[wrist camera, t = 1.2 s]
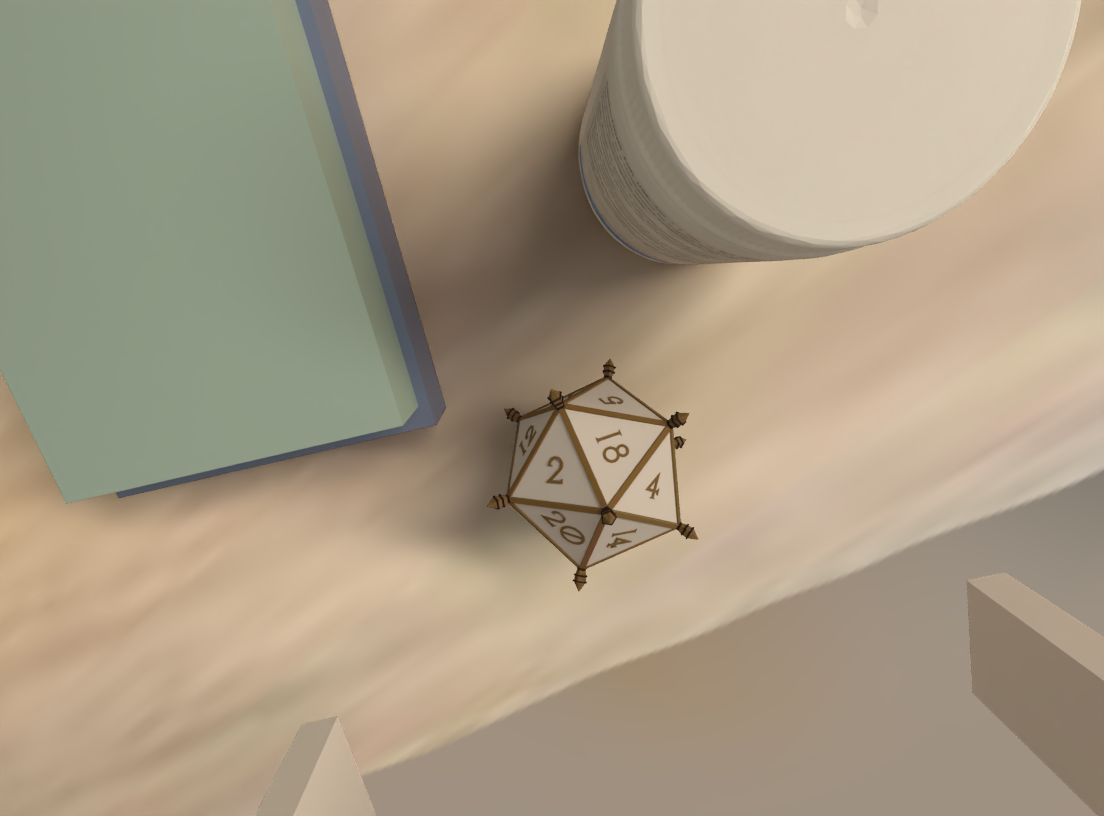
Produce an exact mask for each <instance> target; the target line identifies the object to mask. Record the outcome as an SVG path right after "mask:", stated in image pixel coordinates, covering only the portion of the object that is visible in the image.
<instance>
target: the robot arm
mask: <svg viewBox="0 0 1104 816" xmlns="http://www.w3.org/2000/svg"><path fill="white" fill-rule="evenodd" d="M967 597H968V616H969V635H970V654H971V673H972V692H973V694H974V695H975V696H976V697H977V698H978V699H979V700H980V701H981V702H982V703H983V704H984V705H985V706H986V707H987V708H988V709H989V710H990V711H991V712H992V713H993V714H995V715H996V716H997V717H998V718H999V719H1000V720H1001V721H1002V722H1003V723H1004V724H1005V725H1006V726H1007V727H1008V728H1009V729H1010V730H1011V731H1012V732H1013V733H1014V734H1015V735H1016V736H1017V737H1018V738H1019V739H1020V740H1021V741H1022V742H1023V743H1024V744H1025V745H1026V746H1027V747H1028V748H1029V749H1030V750H1031V751H1032V752H1033V753H1034V754H1035V755H1036V756H1037V757H1038V758H1039V759H1040V760H1042V761H1043V762H1044V763H1045V765H1047V766H1048V767H1049V768H1050V769H1051V770H1052V771H1053V772H1054V773H1055V774H1056V775H1057V776H1058V777H1059V778H1060V779H1061V780H1062V781H1063V782H1064V783H1065V784H1066V785H1067V786H1068V787H1069V788H1070V789H1071V790H1072V791H1073V792H1074V793H1075V794H1076V795H1077V796H1078V797H1079V798H1080V799H1081V800H1082V801H1083V802H1084V803H1085V804H1086V805H1087V806H1088V807H1090V808H1091V810H1092V811H1093V812H1094V813H1096V814H1097V815H1098V816H1104V637H1103V636H1101V635H1100V634H1098V633H1097V632H1095V631H1094V630H1092V629H1091V628H1089V627H1088V626H1086V625H1085V624H1083V623H1082V622H1080V621H1079V620H1077V619H1075V618H1074V617H1072V616H1071V615H1069V614H1068V613H1066V612H1065V611H1063V610H1062V609H1060V608H1059V607H1057V606H1056V605H1054V604H1053V603H1051V602H1050V601H1048V600H1046V599H1045V598H1043V597H1042V596H1040V595H1039V594H1037V593H1036V592H1034V591H1033V590H1031V589H1029V588H1028V587H1027V586H1025V585H1023V584H1022V583H1020V582H1019V581H1017V580H1016V579H1014V578H1013V577H1011V576H1010V575H1008V574H1007V573H1005V572H1004V573H999V574H994V575H989V576H985V577H981V578H976V579H971V580H967ZM255 816H376V813H375V811H374V808H373V806H372V803H371V801H370V798H369V796H368V793H367V791H366V788H365V785H364V783H363V780H362V778H361V775H360V773H359V770H358V768H357V765H356V763H355V760H354V757H353V755H352V752H351V750H350V747H349V745H348V742H347V740H346V737H345V735H344V732H343V730H342V727H341V724H340V722H339V719H338V717H333V718H328V719H324V720H319V721H315V722H310V723H305V724H302V725H301V727H300V729H299V731H298V733H297V735H296V737H295V739H294V741H293V743H292V745H291V747H290V749H289V751H288V752H287V754H286V756H285V758H284V760H283V762H282V764H281V766H280V768H279V770H278V772H277V774H276V776H275V778H274V780H273V782H272V784H271V786H270V787H269V789H268V791H267V793H266V795H265V797H264V799H263V801H262V803H261V805H260V807H259V809H258V811H257V813H256V815H255Z"/></svg>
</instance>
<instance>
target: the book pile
mask: <svg viewBox="0 0 1104 816" xmlns="http://www.w3.org/2000/svg"><path fill="white" fill-rule="evenodd" d="M0 371H1V373H2V375H3V377H4V379H5V381H6V383H7V385H8V387H9V389H10V391H11V393H12V395H13V397H14V399H15V401H16V403H17V405H18V407H19V409H20V411H21V413H22V415H23V417H24V419H25V421H26V423H27V425H28V427H29V429H30V431H31V433H32V435H33V437H34V439H35V442H36V444H37V446H38V448H39V450H40V452H41V454H42V456H43V458H44V460H45V462H46V464H47V466H48V468H49V470H50V472H51V474H52V476H53V478H54V480H55V482H56V484H57V486H58V488H59V490H60V492H61V494H62V496H63V498H64V500H65V502H66V504H67V503H72V502H76V501H80V500H84V499H89V498H93V497H97V496H102V495H106V494H110V493H115V492H116V493H117V495H118V498H122V497H126V496H131V495H135V494H139V493H144V492H148V491H152V490H157V489H161V488H165V487H170V486H174V485H178V484H182V483H187V482H191V481H195V480H200V479H204V478H208V477H213V476H217V475H221V474H226V473H230V472H234V471H239V470H243V469H247V468H252V467H256V466H260V465H265V464H269V463H273V462H278V461H282V460H286V459H291V458H295V457H299V456H303V455H308V454H312V453H316V452H321V451H325V450H329V449H334V448H338V447H342V446H347V445H351V444H355V443H360V442H364V441H368V440H373V439H377V438H381V437H386V436H390V435H394V434H399V433H403V432H407V431H411V430H416V429H420V428H424V427H429V426H433V425H436V424H437V422H438V420H439V419H440V417H441V415H442V414H443V412H444V411H445V409H446V406H445V402H444V399H443V396H442V392H441V389H440V385H439V382H438V378H437V375H436V372H435V368H434V365H433V361H432V358H431V354H430V351H429V347H428V344H427V341H426V337H425V334H424V330H423V327H422V323H421V320H420V316H419V313H418V310H417V306H416V303H415V299H414V296H413V292H412V289H411V286H410V282H409V279H408V275H407V272H406V268H405V265H404V261H403V258H402V255H401V251H400V248H399V244H398V241H397V237H396V234H395V230H394V227H393V224H392V220H391V217H390V213H389V210H388V206H387V203H386V200H385V196H384V193H383V189H382V186H381V182H380V179H379V175H378V172H377V169H376V165H375V162H374V158H373V155H372V151H371V148H370V144H369V141H368V138H367V134H366V131H365V127H364V124H363V120H362V117H361V114H360V110H359V107H358V103H357V100H356V96H355V93H354V89H353V86H352V83H351V79H350V76H349V72H348V69H347V65H346V62H345V58H344V55H343V52H342V48H341V45H340V41H339V38H338V34H337V31H336V28H335V24H334V21H333V17H332V14H331V10H330V7H329V3H328V0H0Z"/></svg>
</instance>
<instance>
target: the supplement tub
mask: <svg viewBox="0 0 1104 816" xmlns="http://www.w3.org/2000/svg"><path fill="white" fill-rule="evenodd" d="M1080 5H1081V0H617V1H616V5H615V8H614V11H613V15H612V18H611V22H610V25H609V28H608V32H607V35H606V39H605V43H604V46H603V50H602V53H601V57H600V60H599V64H598V67H597V70H596V74H595V77H594V80H593V84H592V88H591V91H590V95H589V99H588V102H587V106H586V109H585V112H584V116H583V119H582V124H581V129H580V137H579V151H578V153H579V168H580V174H581V179H582V183H583V187H584V191H585V194H586V196H587V199H588V202H589V204H590V206H591V208H592V210H593V212H594V214H595V215H596V217H597V218H598V220H599V221H600V223H601V224H602V226H603V227H604V228H605V230H606V231H607V232H608V233H609V234H610V235H611V236H612V237H613V238H614V239H616V240H617V241H618V242H619V243H620V244H621V245H623V246H624V247H626V248H627V249H629V250H630V251H632V252H634V253H636V254H637V255H640V256H642V257H644V258H647V259H649V260H652V261H656V262H661V263H668V264H681V265H688V264H713V263H734V262H759V261H783V260H794V259H809V258H818V257H825V256H829V255H834V254H838V253H843V252H846V251H850V250H854V249H857V248H861V247H864V246H867V245H872V244H877V243H880V242H884V241H887V240H891V239H894V238H897V237H900V236H902V235H905V234H907V233H910V232H913V231H915V230H917V229H919V228H921V227H923V226H925V225H927V224H929V223H931V222H933V221H935V220H937V219H939V218H940V217H942V216H944V215H946V214H947V213H949V212H950V211H951V210H953V209H954V208H956V207H957V206H959V205H960V204H962V203H963V202H964V201H966V200H967V199H969V198H970V197H971V196H973V195H974V194H975V193H976V192H977V191H978V190H979V189H980V188H982V187H983V186H984V185H985V184H986V183H987V182H988V181H989V180H990V179H991V178H992V177H994V176H995V175H996V174H997V173H998V171H999V170H1000V169H1001V168H1002V167H1003V166H1004V165H1005V164H1006V163H1007V162H1008V161H1009V159H1010V158H1011V157H1012V156H1013V154H1014V153H1015V152H1016V151H1017V149H1018V148H1019V147H1020V145H1021V144H1022V143H1023V141H1024V140H1025V139H1026V137H1027V136H1028V135H1029V133H1030V132H1031V131H1032V129H1033V127H1034V126H1035V124H1036V122H1037V121H1038V119H1039V117H1040V116H1041V114H1042V112H1043V111H1044V109H1045V107H1046V106H1047V104H1048V102H1049V100H1050V98H1051V96H1052V94H1053V92H1054V90H1055V88H1056V85H1057V83H1058V81H1059V78H1060V76H1061V74H1062V71H1063V68H1064V66H1065V63H1066V60H1067V57H1068V54H1069V51H1070V48H1071V45H1072V42H1073V38H1074V34H1075V30H1076V26H1077V22H1078V17H1079V11H1080Z"/></svg>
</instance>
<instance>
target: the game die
mask: <svg viewBox="0 0 1104 816" xmlns="http://www.w3.org/2000/svg"><path fill="white" fill-rule="evenodd" d="M603 367H604V370H603V373H604V378H602V379H600V380H597V381H595V382H593V383H591V384H589V385H587V386H585V387H583V388H580V389H578V390H576V391H574V392H572V393H570V394H568V395H566V396H561V394H562V392H557V391H554V390H551V391H550V395H549V397H548V400H549V401H551V402H550V403H549V404H547V405H544V406H542V407H540V408H538V409H536V410H534V411H532V412H530V413H527V414H525V415H523V416H520V414H519V412H518V411H516V410H515V409H514V408H512V409H505V412H506V415H507V419H511V421H516V422H517V423H518V426H517V432H516V439H515V445H514V452H513V458H512V464H511V471H510V477H509V484H508V490H507V494H506V495H501V494H499V496H496V497H495V496H493V499H492V500H491V501H490V502H489V504H488V505H487V507H492V508H495V509H500V507H505V505H506V504H508V503H509V504H510V505H511V506H512V507H513V508H514V509H516V510H517V511H518V512H519V513H520V514H521V515H522V516H523V517H524V518H525V519H526V520H527V521H528V522H529V523H531V524H532V525H533V526H534V527H535V528H536V529H537V530H538V531H539V532H540V533H541V534H542V535H543V536H544V537H545V538H547V539H548V540H549V541H550V542H551V543H552V544H553V545H554V546H555V547H556V548H557V549H558V550H559V551H560V552H561V553H563V554H564V555H565V556H566V557H567V558H568V559H569V560H570V561H571V562H572V563H573V564H574V565H575V566H576V567H577V572H576V574H574V575H575V579H574V580H573V581H574V582H575V584H576V587H577V589H578V591H580V589H581V588H582V587H583V585H584V584H585V583H587V582H586V577H587V576H586V572H585V571H586V569H587V568H589V567H591V566H594V565H596V564H598V563H600V562H603V561H605V560H607V559H609V558H612V557H614V556H616V555H618V554H621V553H623V552H625V551H628V550H630V549H632V548H634V547H637V546H639V545H641V544H643V543H646V542H648V541H650V540H652V539H655V538H657V537H659V536H661V535H664V534H666V533H668V532H671V531H673V530H675V529H677V530H678V531H679V532H680V533H681V535H684V536H685V537H686V539H687V538H690V539H698V537H697V535H696V533H695V531H694V527H693V528H691V527H690V526H688V525H689V524H687V525H686V524H682V523H681V519H680V507H679V495H678V482H677V470H676V458H675V448H676V449H678V448H679V447H680V448H682V446H683V444H684V442H685V441H686V439H684V438H681V436H679V437H675V438H674V433H673V428H674V427H677V428H678V427H679V426H680V425H684V424H685V423H686V419H687V417H688V415H689V413H679V412H676V414H675V415H671V418H670V420H667V419H665V418H664V417H663V416H661V415H660V414H659V413H657V412H656V411H654V410H653V409H652V408H650V407H649V406H648V405H646V404H645V403H644V402H642V401H641V400H640V399H638V398H637V397H635V396H634V395H633V394H631V393H630V392H629V391H627V390H626V389H625V388H623V387H622V386H621V385H619V384H618V383H616V382H615V381H614V380H612V375H613V374H614V373H615V372H614V369H615V368H616V367H614V365H613V363H612V361H611V359H609V360H608V362H607V363H606V364H605V365H603Z"/></svg>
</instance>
